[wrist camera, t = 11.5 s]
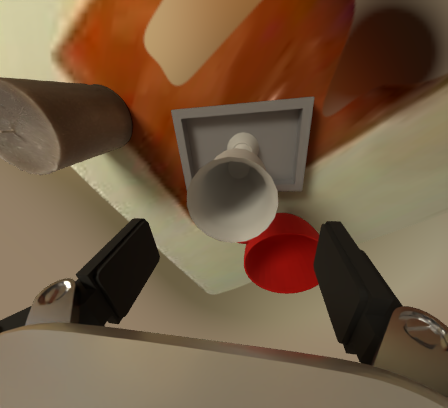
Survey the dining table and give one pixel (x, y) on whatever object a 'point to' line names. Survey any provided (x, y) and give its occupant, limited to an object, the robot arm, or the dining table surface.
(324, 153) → the dining table surface
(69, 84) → the pillar candle
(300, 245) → the ceramic cup
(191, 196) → the chalice
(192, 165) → the tray
